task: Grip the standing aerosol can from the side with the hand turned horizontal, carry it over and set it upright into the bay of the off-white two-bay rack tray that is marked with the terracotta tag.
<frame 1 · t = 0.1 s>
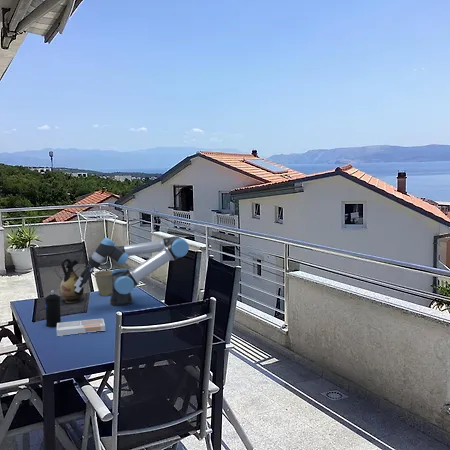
hand: (76, 288, 281), 15 cm above the table, tool tilted 35°, fingers open, 13 cm apart
ceramic jug: (71, 301, 308), on the table
aerosol can: (53, 325, 260), on the table
plant pot: (106, 294, 326), on the table
rack tray: (81, 330, 251), on the table
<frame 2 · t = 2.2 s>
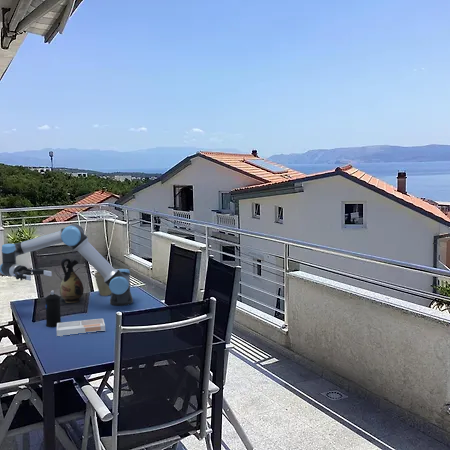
hand: (41, 276, 262), 27 cm above the table, tool horizontal, fingers open, 13 cm apart
nothing on the table moved.
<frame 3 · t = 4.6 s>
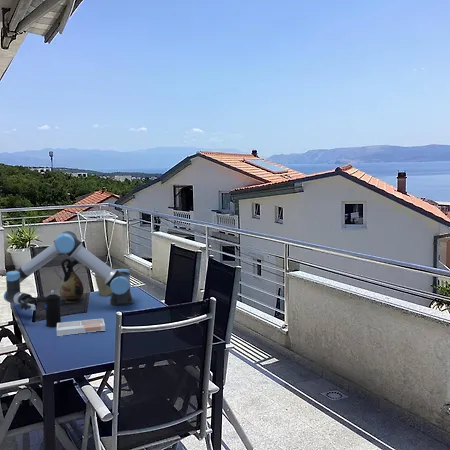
hand: (45, 304, 262), 11 cm above the table, tool horizontal, fingers open, 13 cm apart
nothing on the table moved.
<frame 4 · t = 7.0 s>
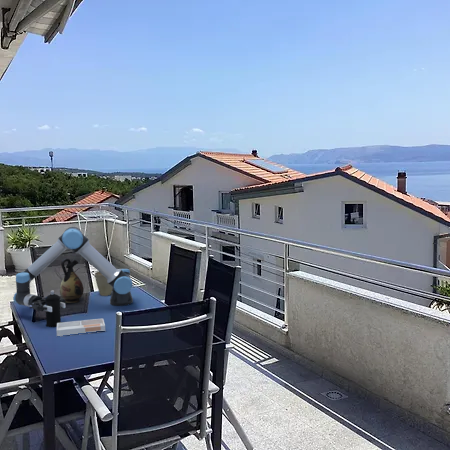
hand: (58, 307, 257), 11 cm above the table, tool horizontal, fingers closed on aerosol can, 8 cm apart
aerosol can: (53, 325, 260), on the table, touching gripper
everything else where it was.
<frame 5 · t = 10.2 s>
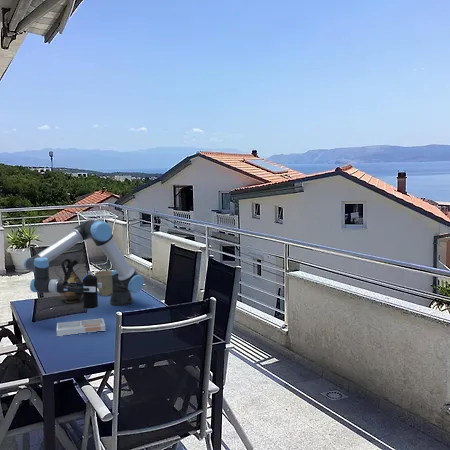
hand: (98, 287, 250), 24 cm above the table, tool horizontal, fingers closed on aerosol can, 8 cm apart
aerosol can: (90, 306, 252), point 13 cm above the table, touching gripper
everything else where it was.
when the fingers open (13 cm above the table, at t = 13.6 s): aerosol can drops 1 cm, resting on rack tray.
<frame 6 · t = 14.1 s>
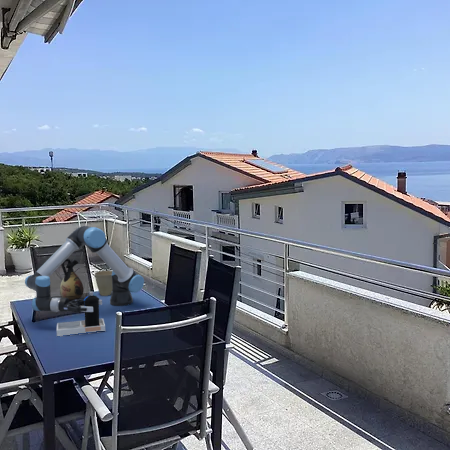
hand: (97, 305, 252), 14 cm above the table, tool horizontal, fingers open, 13 cm apart
aerosol can: (92, 327, 253), point 1 cm above the table, touching rack tray
everything else where it was.
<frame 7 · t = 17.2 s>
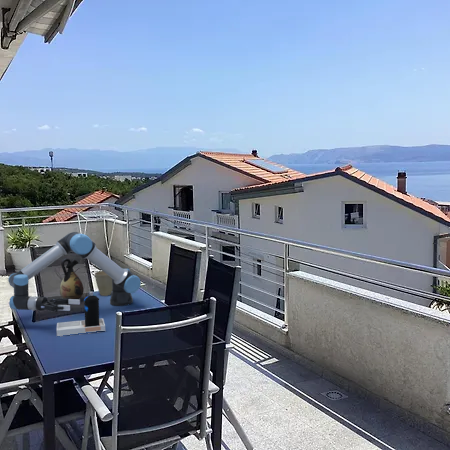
hand: (75, 305, 253), 13 cm above the table, tool horizontal, fingers open, 13 cm apart
nothing on the table moved.
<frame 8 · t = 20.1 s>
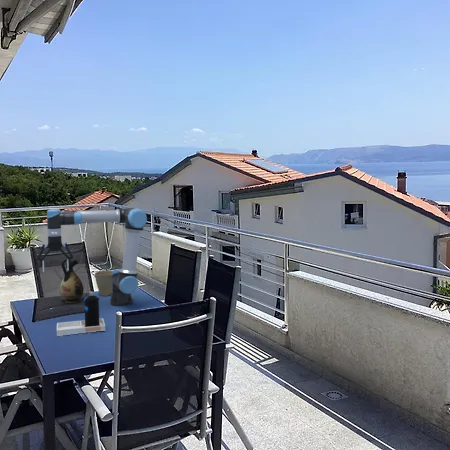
hand: (55, 271, 270), 29 cm above the table, tool pointing down, fingers open, 13 cm apart
nothing on the table moved.
at the end: aerosol can inside the target area on the rack tray (0.0 cm from its centre), point 1.0 cm above the rack tray's base; aerosol can tilted 0°; the gripper is holding nothing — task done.
